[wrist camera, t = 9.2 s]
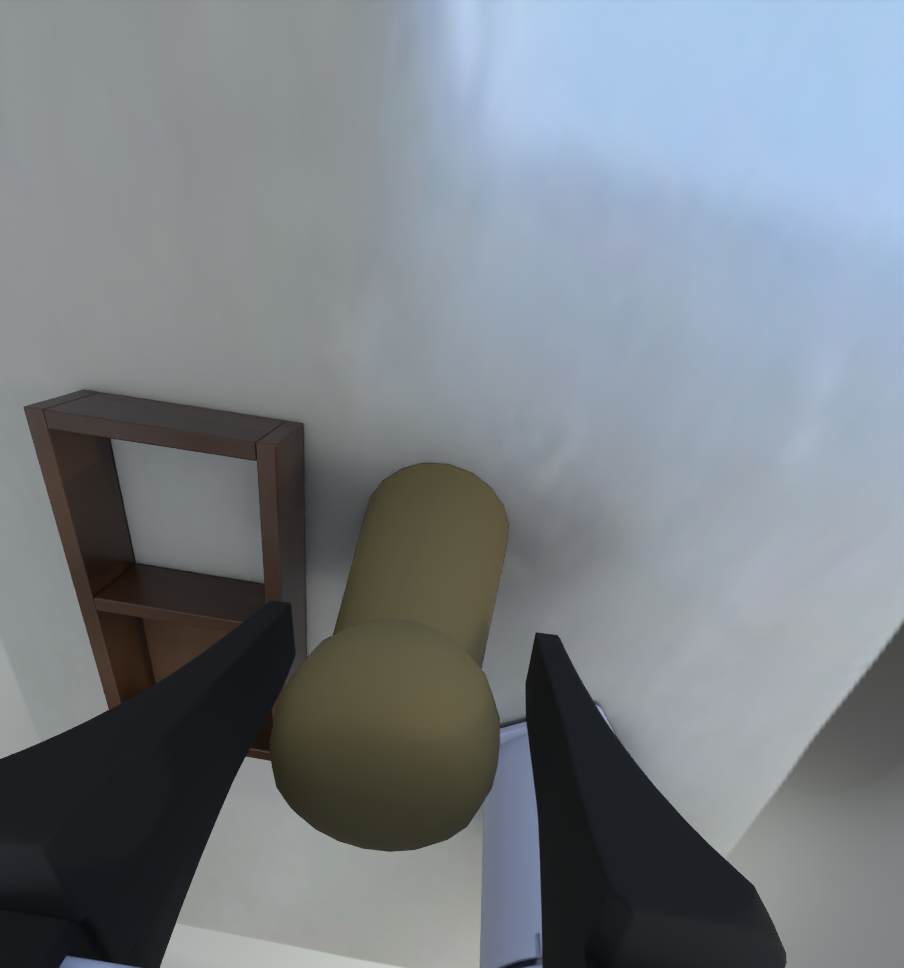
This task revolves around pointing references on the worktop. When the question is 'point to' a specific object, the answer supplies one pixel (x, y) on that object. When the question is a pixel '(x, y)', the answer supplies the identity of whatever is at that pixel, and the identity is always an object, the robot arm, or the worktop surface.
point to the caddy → (157, 591)
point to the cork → (402, 672)
